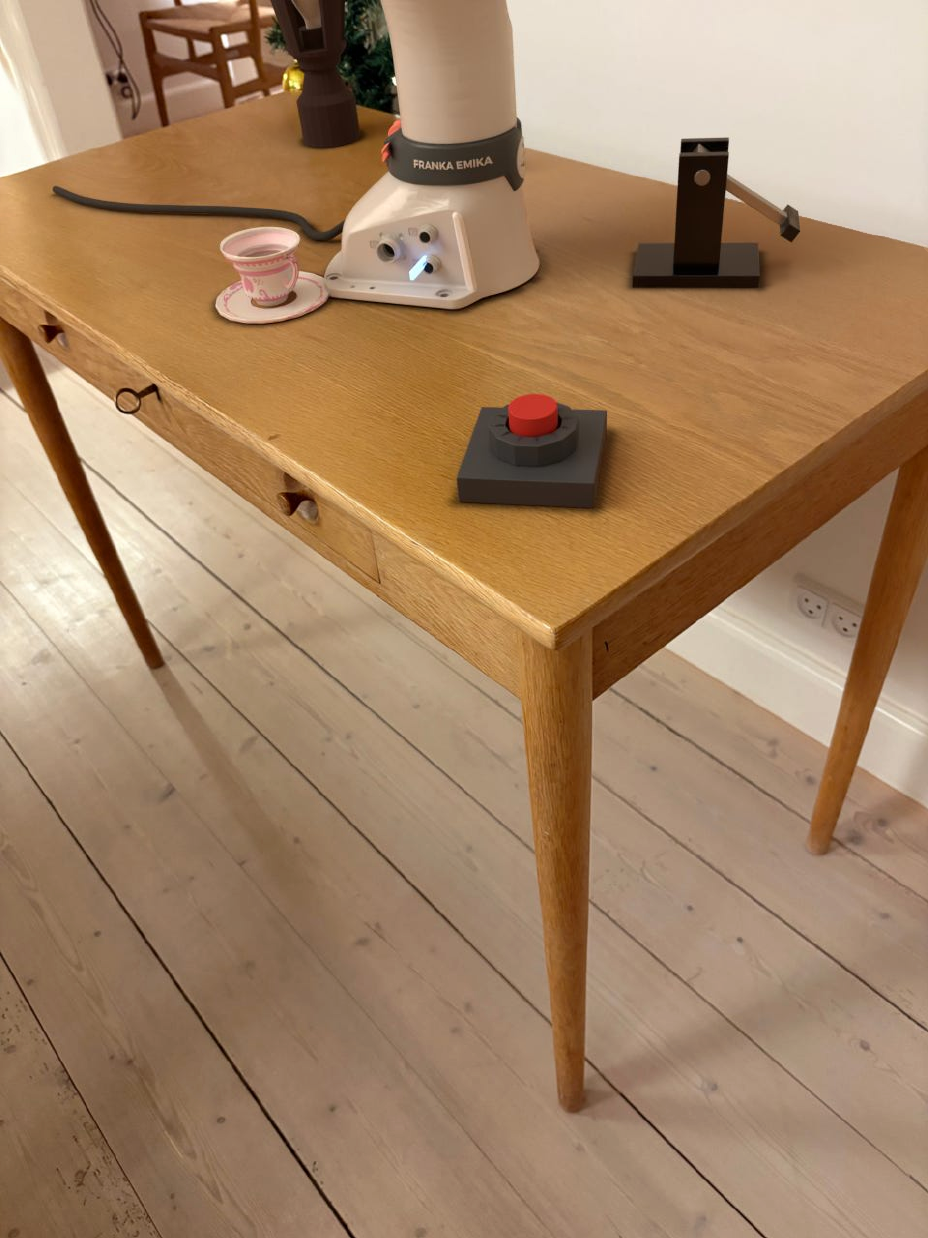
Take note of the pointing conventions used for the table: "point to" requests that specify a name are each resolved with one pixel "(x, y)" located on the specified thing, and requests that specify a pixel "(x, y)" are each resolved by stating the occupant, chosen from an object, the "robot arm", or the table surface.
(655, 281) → the bracket
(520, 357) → the table surface
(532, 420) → the button
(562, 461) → the button box
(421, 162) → the robot arm
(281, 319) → the teacup
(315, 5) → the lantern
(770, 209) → the lever
